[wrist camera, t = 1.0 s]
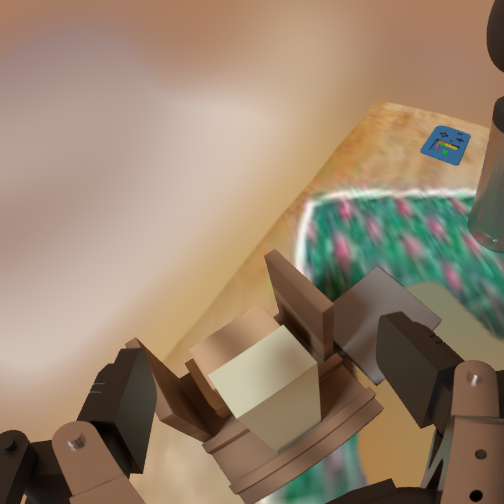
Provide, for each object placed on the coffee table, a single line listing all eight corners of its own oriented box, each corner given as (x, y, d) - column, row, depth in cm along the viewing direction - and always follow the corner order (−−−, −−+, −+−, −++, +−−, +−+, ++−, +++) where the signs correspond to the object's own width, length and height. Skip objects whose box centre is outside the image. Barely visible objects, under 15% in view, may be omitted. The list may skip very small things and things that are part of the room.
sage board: (302, 401, 29) (283, 324, 18) (321, 422, 27) (317, 362, 16) (260, 430, 28) (207, 375, 17) (278, 453, 26) (236, 418, 15)
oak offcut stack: (272, 328, 36) (262, 296, 31) (303, 364, 32) (298, 336, 27) (197, 378, 33) (173, 353, 28) (223, 419, 30) (200, 401, 25)
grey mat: (377, 269, 40) (377, 266, 39) (440, 322, 33) (441, 319, 32) (312, 320, 37) (311, 317, 37) (376, 386, 30) (377, 384, 29)
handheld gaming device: (470, 133, 56) (458, 163, 50) (470, 137, 56) (457, 167, 50) (438, 122, 60) (419, 149, 54) (437, 126, 61) (419, 154, 55)
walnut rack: (289, 313, 38) (274, 248, 30) (381, 411, 28) (406, 373, 20) (175, 388, 34) (124, 344, 26) (250, 505, 24) (213, 511, 16)
